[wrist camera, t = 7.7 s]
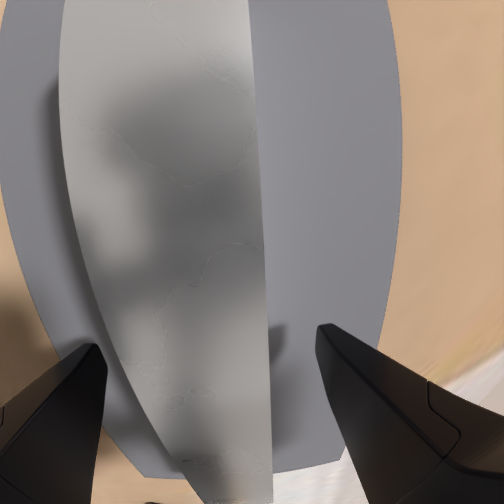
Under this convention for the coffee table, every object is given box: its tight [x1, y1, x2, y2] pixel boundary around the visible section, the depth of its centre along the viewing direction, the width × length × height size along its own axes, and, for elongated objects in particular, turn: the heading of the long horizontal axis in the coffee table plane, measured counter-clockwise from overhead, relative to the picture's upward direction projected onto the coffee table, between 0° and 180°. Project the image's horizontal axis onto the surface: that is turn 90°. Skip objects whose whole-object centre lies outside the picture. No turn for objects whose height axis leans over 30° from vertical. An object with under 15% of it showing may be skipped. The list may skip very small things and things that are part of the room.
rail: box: [59, 0, 273, 504], centre depth 7 cm, size 18×3×3 cm, turn 4°
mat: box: [0, 0, 402, 479], centre depth 9 cm, size 24×12×1 cm, turn 4°
